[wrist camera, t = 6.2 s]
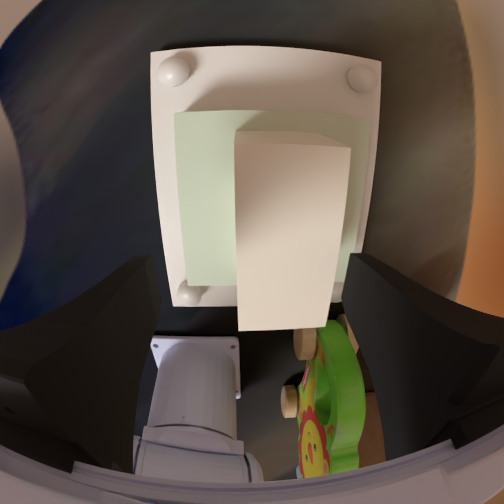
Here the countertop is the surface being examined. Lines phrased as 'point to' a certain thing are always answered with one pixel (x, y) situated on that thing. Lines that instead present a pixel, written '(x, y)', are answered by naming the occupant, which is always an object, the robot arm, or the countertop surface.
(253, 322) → the cream brick
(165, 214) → the white studded slab
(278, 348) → the countertop surface
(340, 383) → the toy lion
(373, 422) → the block
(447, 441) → the robot arm
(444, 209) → the countertop surface
